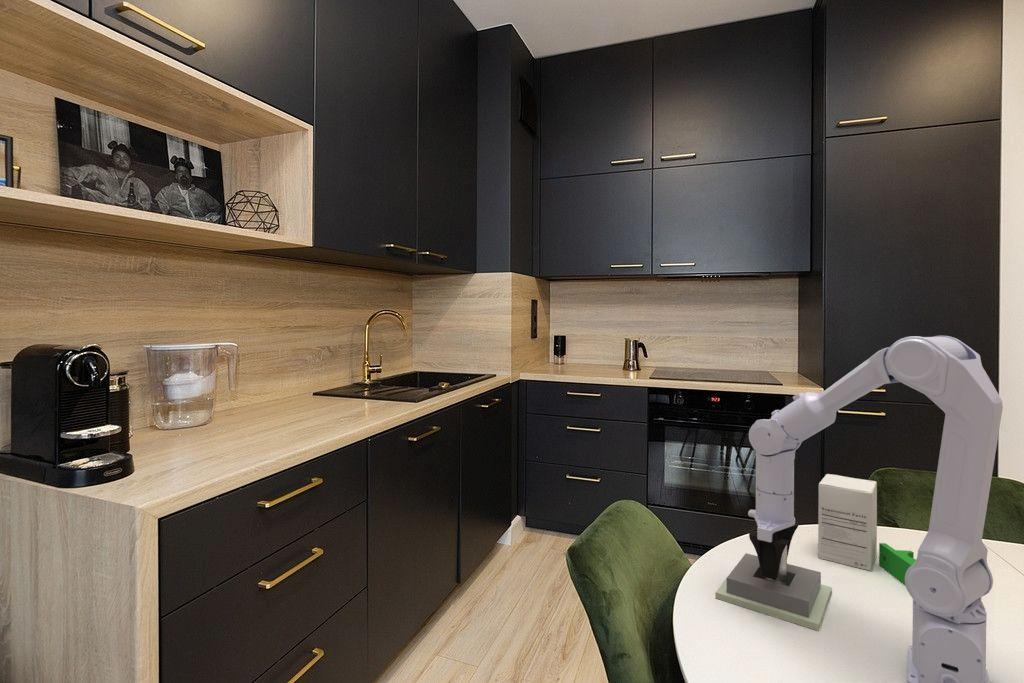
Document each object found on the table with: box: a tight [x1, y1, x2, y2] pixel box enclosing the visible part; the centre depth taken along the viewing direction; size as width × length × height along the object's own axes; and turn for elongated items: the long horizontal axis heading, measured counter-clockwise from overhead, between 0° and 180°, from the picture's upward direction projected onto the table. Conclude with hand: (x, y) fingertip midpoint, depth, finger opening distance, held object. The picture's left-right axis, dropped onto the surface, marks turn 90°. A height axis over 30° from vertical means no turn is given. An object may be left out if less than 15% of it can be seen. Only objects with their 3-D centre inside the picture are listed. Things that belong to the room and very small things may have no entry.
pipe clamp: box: [878, 542, 917, 587], centre depth 90 cm, size 11×4×5 cm, turn 173°
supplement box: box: [817, 473, 878, 572], centre depth 100 cm, size 9×9×15 cm
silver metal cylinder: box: [763, 545, 788, 586], centre depth 85 cm, size 4×4×8 cm
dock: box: [714, 552, 833, 632], centre depth 85 cm, size 14×15×4 cm
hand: (774, 569), depth 85 cm, fingers open, 6 cm apart
